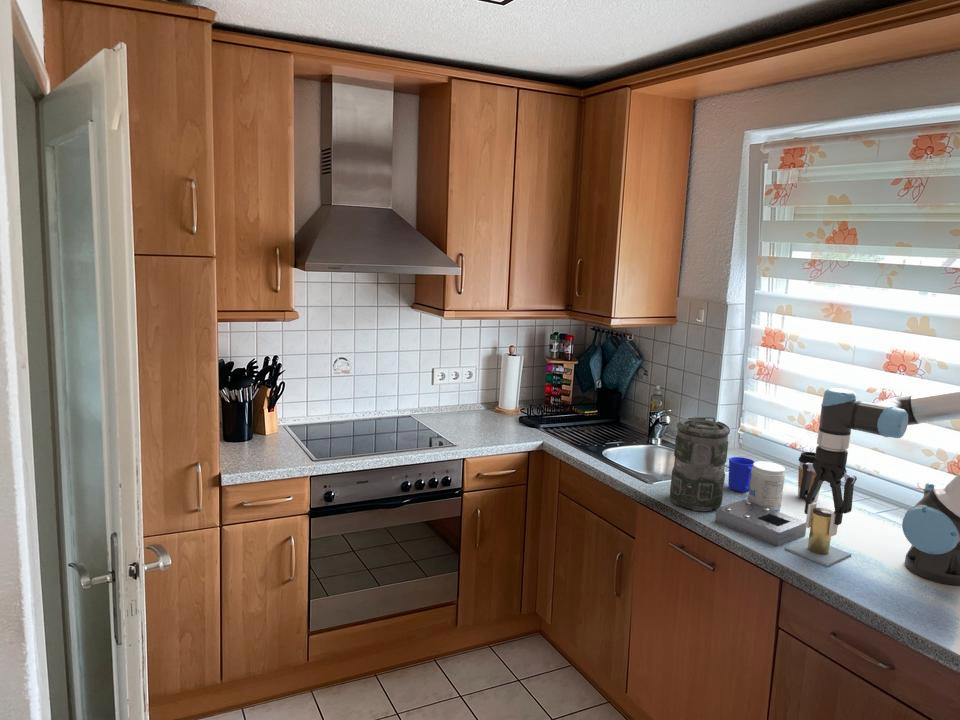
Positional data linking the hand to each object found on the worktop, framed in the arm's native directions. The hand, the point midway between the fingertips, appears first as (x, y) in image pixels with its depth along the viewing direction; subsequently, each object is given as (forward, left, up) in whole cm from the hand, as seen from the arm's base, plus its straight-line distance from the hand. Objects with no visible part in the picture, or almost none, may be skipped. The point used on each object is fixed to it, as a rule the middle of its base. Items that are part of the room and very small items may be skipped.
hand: (820, 530), depth 192 cm
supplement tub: (+25, -14, -7) cm, 29 cm away
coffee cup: (+24, -38, -7) cm, 45 cm away
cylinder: (0, 0, -6) cm, 6 cm away
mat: (0, 0, -6) cm, 6 cm away
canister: (+41, -1, -7) cm, 41 cm away
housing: (+18, -1, -6) cm, 19 cm away
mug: (+39, -24, -7) cm, 46 cm away
